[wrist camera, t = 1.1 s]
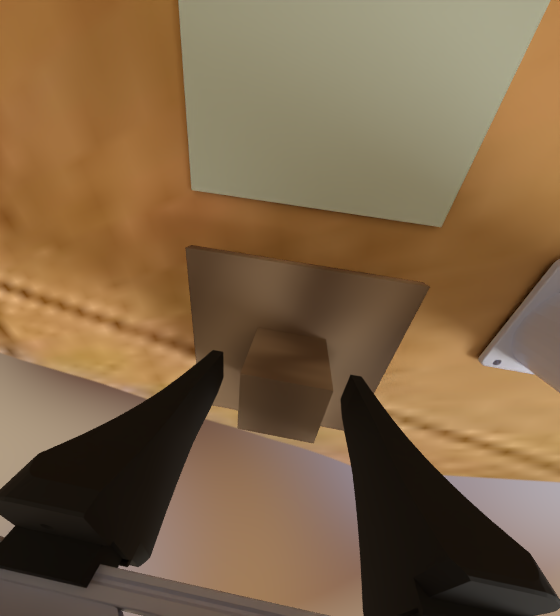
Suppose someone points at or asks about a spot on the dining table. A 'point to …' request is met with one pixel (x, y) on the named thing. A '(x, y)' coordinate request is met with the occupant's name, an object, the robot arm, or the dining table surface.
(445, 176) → the beige flat square piece
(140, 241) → the dining table surface
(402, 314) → the lid
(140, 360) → the dining table surface
